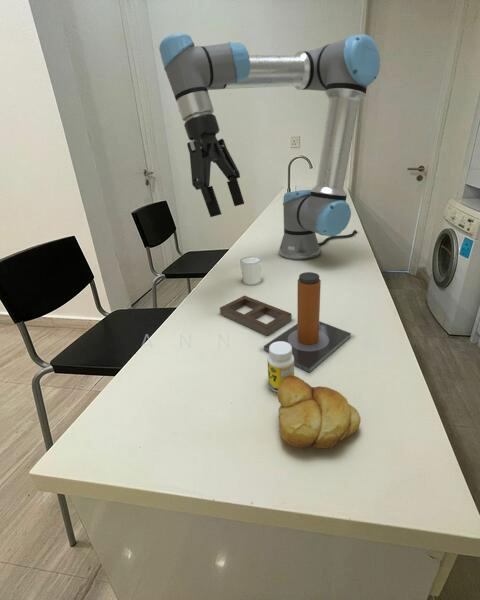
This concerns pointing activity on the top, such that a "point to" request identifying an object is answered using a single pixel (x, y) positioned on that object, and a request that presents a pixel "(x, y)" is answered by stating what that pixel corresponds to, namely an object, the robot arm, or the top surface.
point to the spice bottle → (308, 308)
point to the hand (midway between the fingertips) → (228, 210)
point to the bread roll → (314, 414)
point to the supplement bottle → (279, 363)
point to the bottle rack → (256, 315)
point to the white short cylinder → (251, 270)
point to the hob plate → (316, 353)
